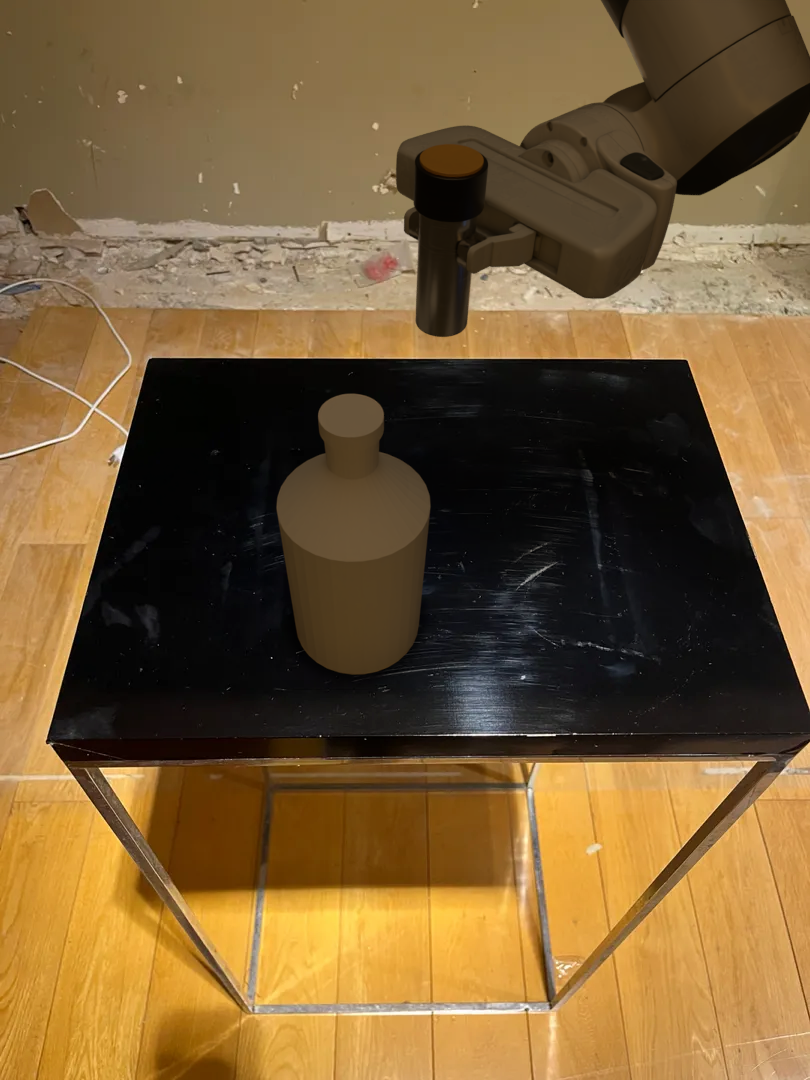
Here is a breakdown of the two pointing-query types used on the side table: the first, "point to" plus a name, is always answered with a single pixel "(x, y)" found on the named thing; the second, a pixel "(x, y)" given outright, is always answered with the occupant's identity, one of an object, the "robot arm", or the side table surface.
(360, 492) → the bottle
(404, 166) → the robot arm
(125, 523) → the side table surface
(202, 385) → the side table surface
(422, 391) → the side table surface
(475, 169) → the torch
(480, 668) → the side table surface
